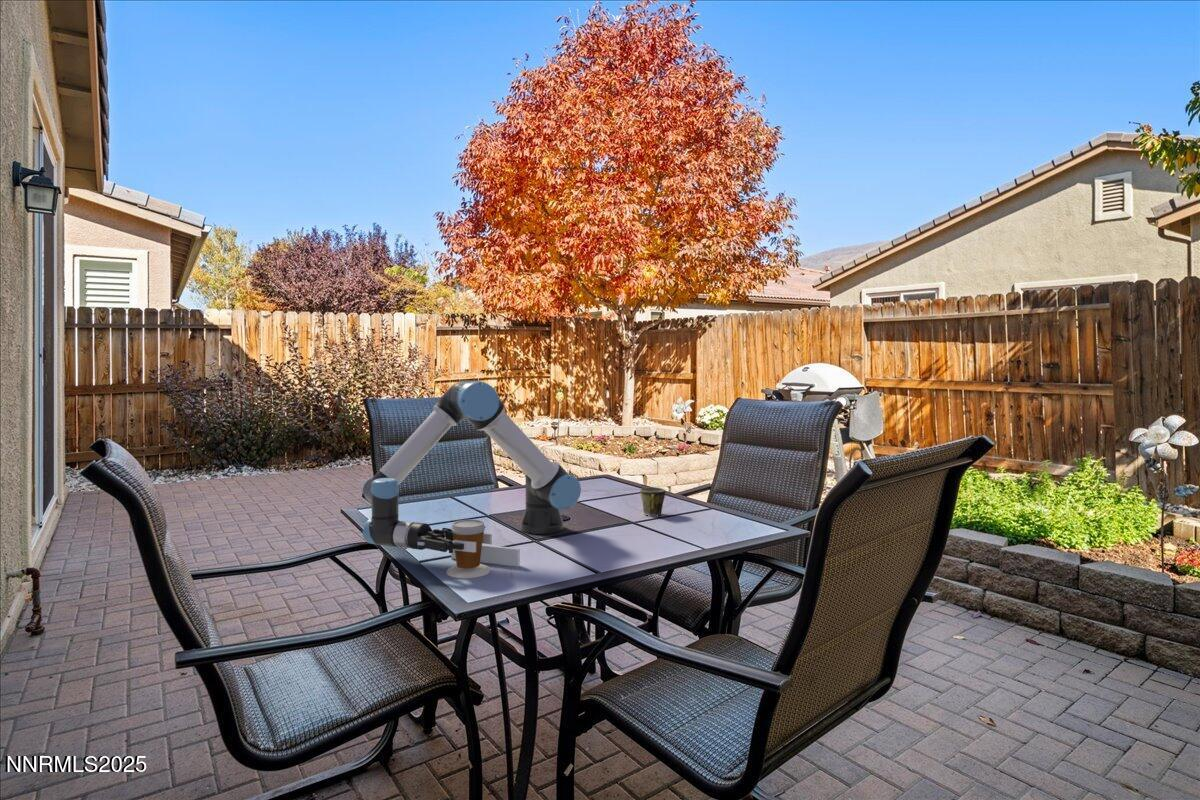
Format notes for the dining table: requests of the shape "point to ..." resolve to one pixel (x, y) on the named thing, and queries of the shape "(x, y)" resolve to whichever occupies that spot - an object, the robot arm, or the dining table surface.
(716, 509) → the dining table surface
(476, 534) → the disposable coffee cup
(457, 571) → the mat
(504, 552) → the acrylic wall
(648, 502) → the ceramic cup
